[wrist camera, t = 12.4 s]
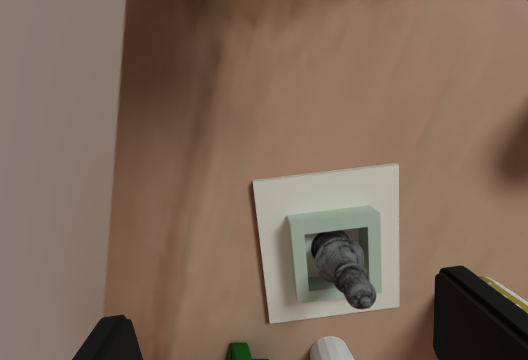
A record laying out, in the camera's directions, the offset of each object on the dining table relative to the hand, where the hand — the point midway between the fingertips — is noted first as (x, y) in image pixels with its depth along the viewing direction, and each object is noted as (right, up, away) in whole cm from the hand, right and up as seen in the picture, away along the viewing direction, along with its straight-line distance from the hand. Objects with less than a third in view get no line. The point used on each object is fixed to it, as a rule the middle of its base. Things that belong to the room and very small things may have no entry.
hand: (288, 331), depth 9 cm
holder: (+8, -4, +29) cm, 31 cm away
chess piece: (+8, -4, +28) cm, 30 cm away
